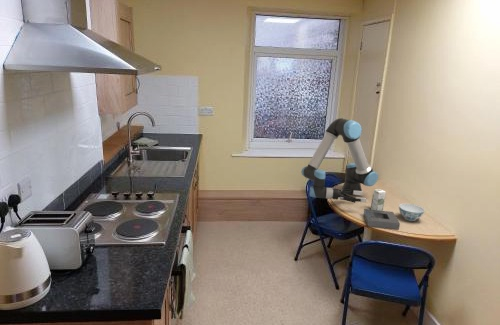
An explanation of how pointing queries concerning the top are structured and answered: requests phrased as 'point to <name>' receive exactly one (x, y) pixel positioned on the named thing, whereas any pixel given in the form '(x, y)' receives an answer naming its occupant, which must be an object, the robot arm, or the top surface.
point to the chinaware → (411, 211)
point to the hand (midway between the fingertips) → (364, 196)
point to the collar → (381, 219)
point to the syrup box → (378, 199)
